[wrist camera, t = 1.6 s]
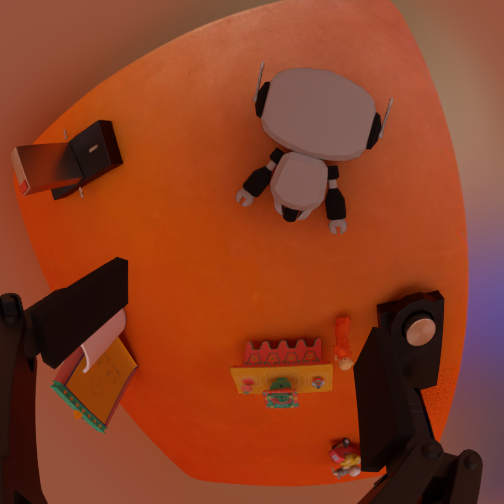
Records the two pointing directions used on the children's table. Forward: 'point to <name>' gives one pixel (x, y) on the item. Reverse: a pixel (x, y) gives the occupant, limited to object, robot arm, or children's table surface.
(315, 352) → the building blocks
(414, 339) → the lamp switch
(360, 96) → the robot toy
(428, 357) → the lamp base
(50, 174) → the small card box
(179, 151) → the children's table surface
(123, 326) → the mug
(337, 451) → the toy airplane
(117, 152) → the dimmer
